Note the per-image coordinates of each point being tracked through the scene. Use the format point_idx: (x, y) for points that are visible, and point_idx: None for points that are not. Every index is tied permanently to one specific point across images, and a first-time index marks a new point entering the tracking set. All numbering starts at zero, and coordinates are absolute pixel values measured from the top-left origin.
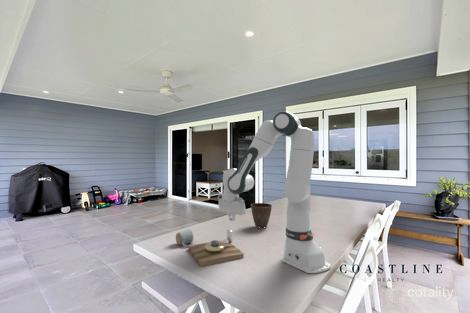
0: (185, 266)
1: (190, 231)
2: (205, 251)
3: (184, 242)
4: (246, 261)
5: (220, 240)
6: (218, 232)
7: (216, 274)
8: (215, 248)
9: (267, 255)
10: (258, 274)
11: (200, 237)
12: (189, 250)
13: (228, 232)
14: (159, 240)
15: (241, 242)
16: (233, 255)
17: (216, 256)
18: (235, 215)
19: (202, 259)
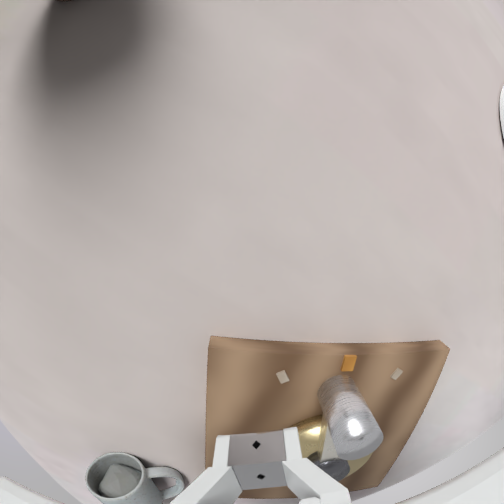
0: None
1: (125, 502)
2: None
3: (158, 491)
4: (464, 342)
5: (326, 450)
6: (14, 270)
7: (440, 443)
8: (360, 462)
9: (484, 222)
10: None
11: (66, 395)
12: None
13: (366, 449)
14: (79, 488)
15: (258, 233)
16: (430, 394)
17: (386, 449)
18: (340, 488)
19: (367, 482)
